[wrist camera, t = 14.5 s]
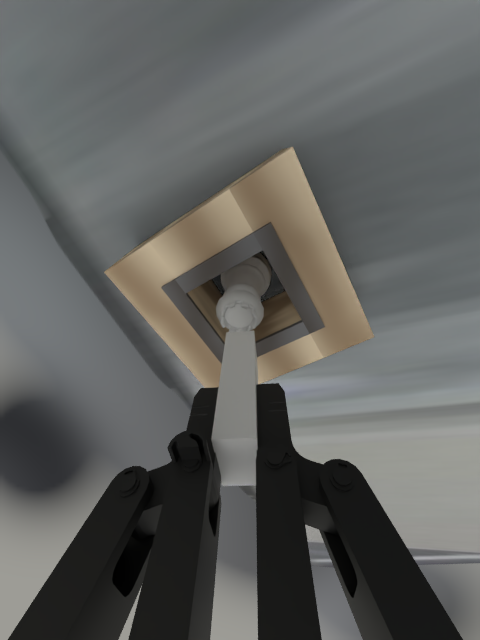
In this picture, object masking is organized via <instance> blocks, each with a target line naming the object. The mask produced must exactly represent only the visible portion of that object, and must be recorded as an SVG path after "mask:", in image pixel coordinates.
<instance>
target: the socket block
mask: <svg viewBox="0 0 480 640" xmlns="http://www.w3.org/2000/svg"><path fill="white" fill-rule="evenodd" d="M262 250H263V252H264V253H265V255H266V257H267V259H268V260H269V262H270V264H271V266H272V268H273V269H274V271H275V273H276V275H277V277H278V278H279V280H280V282H281V284H282V285H283V287H284V289H285V291H284V292H282V293H280V294H278V295H276V296H274V297H271V298H269V299H267V300H265V301H263V302H261V303H262V306H263V308H264V317H263V319H262V321H261V323H260V324H259V325H258V326H257V327H256V328H255V329H253V330H250V331H254V333H255V344H256V355H257V366H258V384H261V383H264V382H266V381H269V380H271V379H273V378H276V377H278V376H281V375H283V374H286V373H288V372H290V371H293V370H295V369H298V368H300V367H303V366H305V365H307V364H310V363H312V362H315V361H317V360H320V359H322V358H325V357H327V356H329V355H332V354H334V353H337V352H339V351H342V350H344V349H346V348H349V347H351V346H354V345H356V344H359V343H361V342H363V341H366V340H368V339H371V338H373V337H374V335H373V333H372V330H371V328H370V326H369V323H368V321H367V319H366V316H365V314H364V312H363V309H362V307H361V305H360V302H359V300H358V298H357V295H356V293H355V291H354V288H353V286H352V284H351V281H350V279H349V277H348V274H347V272H346V270H345V267H344V265H343V263H342V260H341V258H340V256H339V253H338V251H337V249H336V246H335V244H334V242H333V240H332V237H331V235H330V233H329V230H328V228H327V226H326V223H325V221H324V219H323V216H322V214H321V212H320V209H319V207H318V205H317V202H316V200H315V198H314V195H313V193H312V191H311V188H310V186H309V184H308V181H307V179H306V177H305V174H304V172H303V170H302V167H301V165H300V163H299V160H298V158H297V156H296V153H295V151H294V149H293V147H290V148H285V149H282V150H281V151H279V152H278V153H276V154H275V155H273V156H272V157H270V158H269V159H267V160H266V161H264V162H263V163H261V164H260V165H258V166H257V167H255V168H254V169H252V170H251V171H249V172H248V173H246V174H245V175H243V176H242V177H240V178H239V179H237V180H236V181H234V182H233V183H231V184H230V185H228V186H227V187H225V188H224V189H222V190H221V191H219V192H218V193H216V194H215V195H213V196H212V197H210V198H209V199H207V200H205V201H204V202H202V203H201V204H199V205H198V206H196V207H195V208H193V209H192V210H190V211H189V212H187V213H186V214H184V215H183V216H181V217H180V218H178V219H177V220H176V221H174V222H173V223H171V224H170V225H168V226H167V227H165V228H164V229H162V230H161V231H159V232H158V233H156V234H155V235H153V236H152V237H150V238H149V239H147V240H146V241H144V242H143V243H141V244H140V245H138V246H137V247H135V248H134V249H133V250H131V251H130V252H129V253H128V254H126V255H125V256H124V257H123V258H121V259H120V260H119V261H117V262H116V263H115V264H114V265H112V266H111V267H110V268H109V269H107V270H106V271H105V272H104V273H105V274H106V275H107V276H108V277H109V278H110V279H111V281H112V282H113V283H114V284H115V285H116V286H117V287H118V289H119V290H120V291H121V292H122V293H123V294H124V295H125V297H126V298H127V299H128V300H129V301H130V302H131V303H132V305H133V306H134V307H135V308H136V309H137V310H138V311H139V313H140V314H141V315H142V316H143V317H144V318H145V319H146V321H147V322H148V323H149V324H150V325H151V326H152V327H153V329H154V330H155V331H156V332H157V333H158V334H159V335H160V337H161V338H162V339H163V340H164V341H165V342H166V343H167V345H168V346H169V347H170V348H171V349H172V350H173V351H174V353H175V354H176V355H177V356H178V357H179V358H180V359H181V361H182V362H183V363H184V364H185V365H186V366H187V368H188V369H189V370H190V371H191V372H192V373H193V374H194V376H195V377H196V378H197V379H198V380H199V381H200V382H201V384H202V385H203V386H204V387H205V388H214V387H219V381H220V374H221V367H222V360H223V352H224V345H225V338H226V332H229V329H227V328H226V327H224V328H223V327H222V326H221V324H220V321H219V319H218V317H217V316H216V306H217V303H218V301H219V299H220V298H221V297H222V294H221V293H220V291H219V290H218V288H217V287H216V285H215V284H214V283H213V281H212V280H211V279H213V278H214V277H216V276H218V275H220V274H221V273H223V272H225V271H227V270H229V269H230V268H232V267H234V266H236V265H237V264H239V263H241V262H243V261H244V260H246V259H248V258H250V257H251V256H253V255H255V254H257V253H259V252H260V251H262Z"/></svg>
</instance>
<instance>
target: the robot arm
mask: <svg viewBox="0 0 480 640" xmlns="http://www.w3.org/2000/svg"><path fill="white" fill-rule="evenodd" d="M168 451H169V453H170V456H171V459H172V461H171V462H170V463H169V464H167V465H165V466H162V467H160V468H157V469H154V470H151V471H148V472H147V471H146V469H144V468H142V467H140V466H132V467H130V468H126V469H124V470H123V471H122V472H120V473H119V474H118V475H117V476H116V477H115V478H114V479H113V480H112V482H111V483H110V485H109V486H108V488H107V489H106V491H105V492H104V494H103V495H102V497H101V498H100V500H99V501H98V503H97V505H96V506H95V508H94V509H93V511H92V512H91V514H90V515H89V517H88V518H87V520H86V521H85V523H84V524H83V526H82V528H81V529H80V530H79V532H78V533H77V535H76V537H75V538H74V540H73V541H72V543H71V544H70V546H69V547H68V549H67V550H66V552H65V553H64V555H63V556H62V558H61V559H60V561H59V563H58V564H57V565H56V567H55V569H54V570H53V572H52V573H51V575H50V576H49V578H48V579H47V581H46V582H45V584H44V585H43V587H42V588H41V590H40V591H39V593H38V594H37V596H36V597H35V599H34V600H33V602H32V604H31V605H30V607H29V608H28V610H27V611H26V613H25V614H24V616H23V617H22V619H21V620H20V622H19V623H18V625H17V626H16V628H15V630H14V631H13V633H12V634H11V636H10V637H9V639H8V640H118V639H119V636H120V634H121V632H122V630H123V627H124V625H125V623H126V620H127V618H128V616H129V613H130V611H131V609H132V607H133V604H134V602H135V599H136V597H137V595H138V593H139V590H140V588H141V586H142V588H141V592H140V596H139V600H138V604H137V608H136V612H135V616H134V620H133V624H132V628H131V632H130V636H129V640H210V633H211V621H212V609H213V597H214V585H215V573H216V560H217V549H218V537H219V524H220V512H221V496H220V483H222V486H246V485H256V507H257V508H256V513H257V514H256V515H257V516H256V517H257V591H258V640H322V639H321V632H320V625H319V619H318V612H317V605H316V598H315V591H314V584H313V577H312V570H311V563H310V556H309V549H308V542H307V535H306V528H305V524H306V525H308V526H311V527H314V528H317V529H319V530H320V533H321V535H322V538H323V540H324V543H325V545H326V548H327V550H328V553H329V555H330V558H331V560H332V563H333V566H334V568H335V571H336V573H337V576H338V578H339V580H340V583H341V585H342V588H343V591H344V593H345V596H346V598H347V601H348V603H349V606H350V608H351V611H352V613H353V616H354V618H355V621H356V623H357V626H358V628H359V631H360V633H361V636H362V638H363V640H463V639H462V637H461V636H460V634H459V632H458V631H457V629H456V627H455V626H454V624H453V623H452V621H451V619H450V618H449V616H448V614H447V613H446V611H445V610H444V608H443V606H442V604H441V603H440V601H439V600H438V598H437V596H436V595H435V593H434V591H433V590H432V588H431V586H430V585H429V583H428V582H427V580H426V578H425V577H424V575H423V573H422V572H421V570H420V569H419V567H418V565H417V563H416V562H415V560H414V559H413V557H412V555H411V554H410V552H409V550H408V549H407V547H406V545H405V544H404V542H403V541H402V539H401V537H400V536H399V534H398V532H397V531H396V529H395V527H394V526H393V524H392V522H391V521H390V519H389V518H388V516H387V514H386V513H385V511H384V509H383V508H382V506H381V504H380V503H379V501H378V500H377V498H376V496H375V495H374V493H373V491H372V490H371V488H370V486H369V485H368V483H367V481H366V480H365V478H364V477H363V475H362V473H361V472H360V471H359V470H358V469H357V467H356V466H354V465H353V464H351V463H350V462H348V461H345V460H341V459H333V460H330V461H328V462H326V463H324V465H323V464H320V463H316V462H313V461H310V460H307V459H305V458H304V457H302V456H301V455H299V454H298V452H297V451H296V450H295V449H294V447H293V444H292V441H291V434H290V427H289V420H288V413H287V406H286V399H285V392H284V390H283V389H282V388H281V386H280V385H279V383H276V384H258V366H257V355H256V344H255V333H254V331H239V332H226V338H225V345H224V352H223V360H222V367H221V374H220V381H219V387H214V388H201V389H200V390H199V391H198V393H197V394H196V395H195V397H194V401H193V405H192V409H191V414H190V418H189V422H188V426H187V430H186V431H184V432H182V433H180V434H178V435H177V436H175V437H174V438H173V439H172V440H171V442H170V444H169V446H168ZM142 583H143V584H142Z"/></svg>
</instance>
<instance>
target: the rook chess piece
mask: <svg viewBox="0 0 480 640" xmlns="http://www.w3.org/2000/svg"><path fill="white" fill-rule="evenodd" d="M271 272H272V270H271V267H270V265H269V262H268V260H267V259H266V258H265V257H264V256H263V255H262V254H260V253H257V254H255V255H253V256H251V257H250V258H248V259H246V260H244V261H243V262H241V263H239V264H237V265H236V266H234V267H232V268H230V269H229V270H227V271H225V272H223V273H221V274H220V276H221V284H222V286H223V288H224V290H225V292H224V295H223V296H222V297H221V298H220V299H219V301H218V303H217V306H216V316H217V317H218V319H219V321H220V324H221V326H222V327H223V328H224V327H226V328H227V329H229V332H239V331H250V330H253V329H255V328H256V327H257V326H258V325H259V324H260V323H261V321H262V319H263V317H264V308H263V306H262V303H261V298H260V297H261V296H262V295H263V294H265V293H266V291H267V289H268V287H269V285H270V282H271Z"/></svg>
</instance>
